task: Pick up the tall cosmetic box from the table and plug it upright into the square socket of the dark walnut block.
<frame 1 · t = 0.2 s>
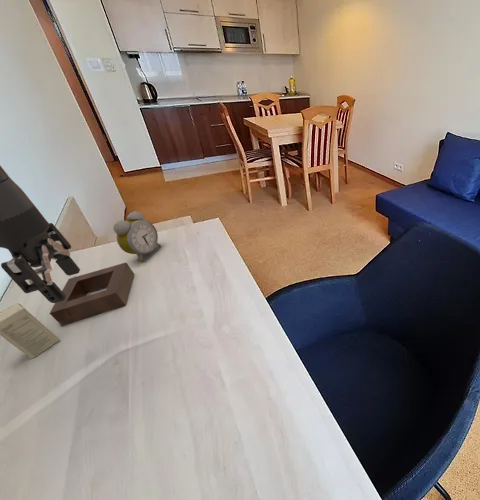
hand: (67, 286, 58), 22 cm above the table, tool pointing down, fingers open, 8 cm apart
socket block: (101, 297, 89), on the table
alarm clock: (147, 254, 106), on the table
cosmetic box: (43, 347, 76), on the table
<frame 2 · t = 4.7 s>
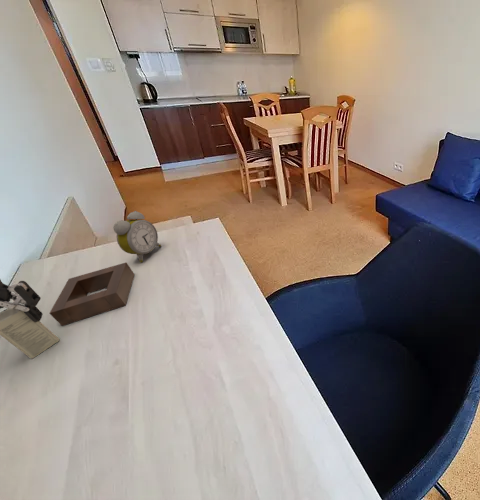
hand: (19, 325, 71), 8 cm above the table, tool pointing down, fingers closed on cosmetic box, 7 cm apart
cosmetic box: (43, 347, 76), on the table, touching gripper
everything else where it was.
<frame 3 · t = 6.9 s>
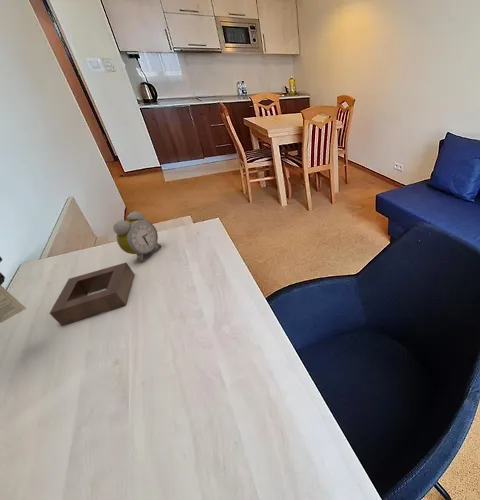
cosmetic box: (7, 316, 69), point 11 cm above the table, touching gripper
everything else where it was.
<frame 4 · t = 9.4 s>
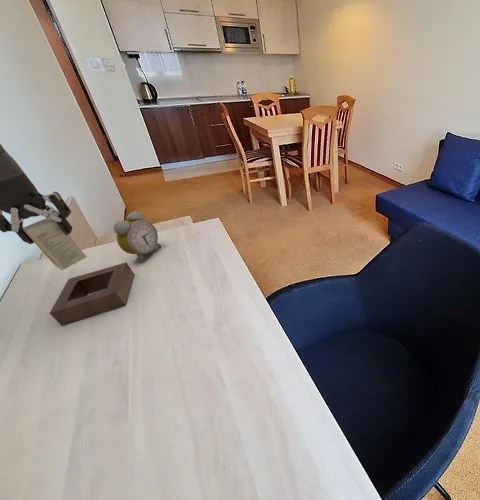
hand: (51, 237, 76), 22 cm above the table, tool pointing down, fingers closed on cosmetic box, 7 cm apart
cosmetic box: (71, 262, 81), point 13 cm above the table, touching gripper
everything else where it was.
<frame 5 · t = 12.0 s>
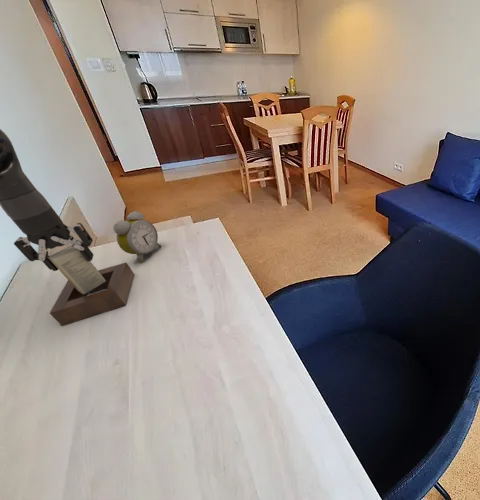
hand: (73, 264, 82), 13 cm above the table, tool pointing down, fingers closed on cosmetic box, 7 cm apart
cosmetic box: (92, 286, 86), point 4 cm above the table, touching gripper
everything else where it was.
when the fingers open (8 cm above the table, at t = 14.3 s): cosmetic box stays where it is, resting in socket block.
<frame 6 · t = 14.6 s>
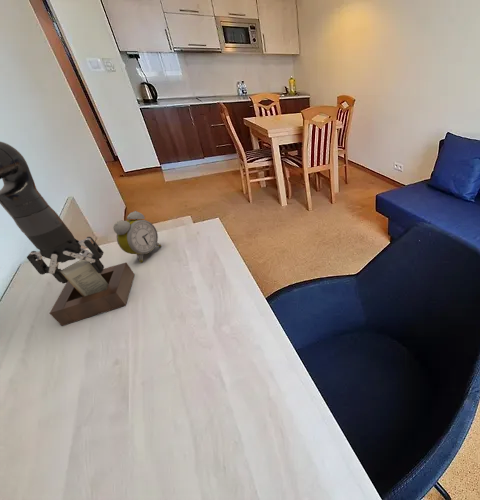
hand: (83, 276, 84), 8 cm above the table, tool pointing down, fingers open, 8 cm apart
cosmetic box: (101, 298, 89), resting in socket block
everything else where it was.
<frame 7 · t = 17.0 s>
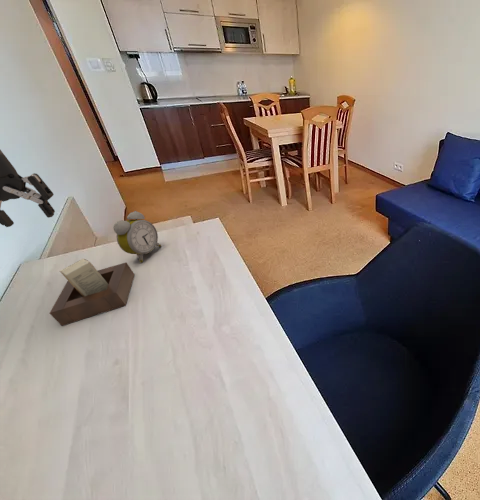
hand: (31, 220, 75), 26 cm above the table, tool pointing down, fingers open, 8 cm apart
nothing on the table moved.
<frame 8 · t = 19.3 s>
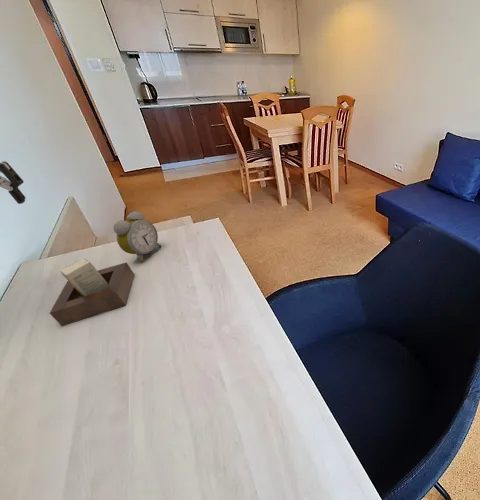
hand: (2, 207, 79), 28 cm above the table, tool pointing down, fingers open, 8 cm apart
nothing on the table moved.
at the end: cosmetic box 0.0 cm off-centre in the socket block, point 0.0 cm above the socket block's base; cosmetic box tilted 0°; the gripper is holding nothing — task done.
